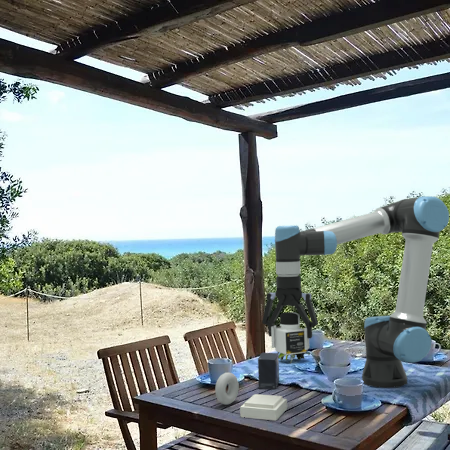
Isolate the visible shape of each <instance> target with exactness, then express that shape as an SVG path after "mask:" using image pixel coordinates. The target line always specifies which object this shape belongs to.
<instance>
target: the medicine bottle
mask: <svg viewBox="0 0 450 450" xmlns="http://www.w3.org/2000/svg"><path fill="white" fill-rule="evenodd" d="M300 317H301V316H300V314H299V312H298V313H297V312H293V311H290V312H289V311H287V312H286V311H285V312H282V313H281V314H280V313H279V326H280V327H276V328H275V348H274V351H275V352H276V353H278V352H279V354H280V353H283V354H285V356H286V355H289V356H290V355H291V354H298V353H305V354H306V350H305V341H304V328H303V327H300V326H301V324H300V323H301V322H300V321H301V319H300Z"/></svg>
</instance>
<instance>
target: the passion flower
mask: <svg viewBox="0 0 450 450" xmlns="http://www.w3.org/2000/svg"><path fill="white" fill-rule="evenodd" d="M277 353H278V360H280V361H281V362H282V361H283V360H284V358H285V361H287V360H288V357H290V358H289V359H290V363H289V365H291V364H292V362H293V360H294V358H296V359H297V360H299V361H301V360H304V359H305V354H306V355H311V352H310V351H308V350H306V353H298V354H291V355H285V354H283V353H280V352H277Z"/></svg>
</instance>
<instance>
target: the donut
mask: <svg viewBox="0 0 450 450" xmlns="http://www.w3.org/2000/svg"><path fill="white" fill-rule="evenodd" d="M227 386H228V388H227ZM239 389H240V385H239V381H238V377H237V376H236V375H235V374H234V373H232V372H224V373H222V374H220V376H219V377H218V378H217V380H216V383H215V391H214V392H215V397H216V399H217V401H218V402H219V403H220V404H222V405H225V406H227V405H231V404H232V403H234V402H235V400H236V399H237V396H238V393H239Z"/></svg>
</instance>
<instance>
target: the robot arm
mask: <svg viewBox="0 0 450 450" xmlns="http://www.w3.org/2000/svg"><path fill="white" fill-rule="evenodd" d="M449 221H450V212H449V209H448V207H447V205H445V202H444V201H443V200H441V199H440V198H438V197H436V196H430V195H428V196H425V195H423V196H422V195H421V196H419V197H410V198H405V199H401V200H398V201H395V202H392V203H390V204H387V205H383V206H380V207H378V208H376V209H375V210H374V211H373V212H370V213H365V214H363V215H358V216H355V217H351V218H350V217H349V218H346V219H343V220H340V221H339V220H338V221H336V222H332V223H328V224H324V225H321V226H317V227H313V228H309V229H306V230H302V231H300V227H299V225H279V226H277V227H275V229H274V246H275V248H274V249H275V274H276V275H277V276H276V277H275V278H276V279H275V280H276V286H275V287H276V291H275V292H271V291H270V292H268V293H266V300H267V301H266V305H265V309H264V313H263V317H262V321H261V322H262V324H263V325H266V326H267V329H268V337H271V349H272V348H273V349H275V328H277V325H275V322H276V320H277V318H278V316H280V313H281V311H282V309H283V307H287V306H290V307H294V308H295V309H296V311H297V312H298V314H299V315H300V317H301V319H302V321H303V323H304V325H305V327H304V328H303V329H304V341H305V350H307V351H308V350H309V349H310V339H312V337H313V327H316V326H318V325H319V322H318V318H317V315H316V311H315V308H314V304H313V302H312V301H313V300H312V298H313V297H312V296H313V295H312V293H311V292H308V293H307V292H302V282H301V281H302V278H301V276H300V274H301V256H328V255H334V253H336V251H337V247H338V245H340V244H345V243H348V242H353V241H356V240H359V239H363V238H365V237H370V236H373V235H377V234H382V235H388V234H392V233H401V235H402V237H403V238H404V239H405V243H404V250H403V257H402V264H401V269H400V277H399V278H400V279H399V284H398V285H399V286H398V290H397V299H396V305H395V311H394V312H393V313H391V314H389V315H380V316H379V315H377V316H368V317H366V318H365V319H364V327H363V328H364V339H365V342H364V343H365V358H366V360H365V363H364V367H363V371H362V374H361V381H362V380H363V381H364V383H363V384H364V385H366V386H369V387H375V388H384V389H385V388H386V389H387V388H388V389H390V388H391V389H392V388H400V387H403V386H405V385H408V377H407V373H406V370H405V368H404V366H403V363H402V362H406V363H410V364H411V363H419V362H420V361H422V360H423V359H425V358H426V357H427V356H428V355H429V353H430V351H431V348H432V338H431V335H430V334H429V332H428V331H427V323H428V322H427V320H426V319H425V318H424V316H423V315H424V309H425V302H426V296H427V295H426V294H427V289H428V282H429V275H430V267H431V260H432V255H433V254H432V253H433V245H434V244H435V243H436V242H438V241H439V238H440V232H441V231H443V230H444V229H445V228H446V227H447V226H448V223H449ZM275 297H276V298H277V300H278V302H277V304H276V307H275V309H274V310H273V313H272V308H273V304H274V303H273V302H274V300H275V299H276V298H275ZM302 298H303V300H304V301H305V304H306V307H307V311H308V314H307V312H306V311H305V309H304V307H303V304H302V303H301V301H300V300H301V299H302ZM271 313H272V315H271ZM270 315H271V317H270ZM308 315H309V316H308Z"/></svg>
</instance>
